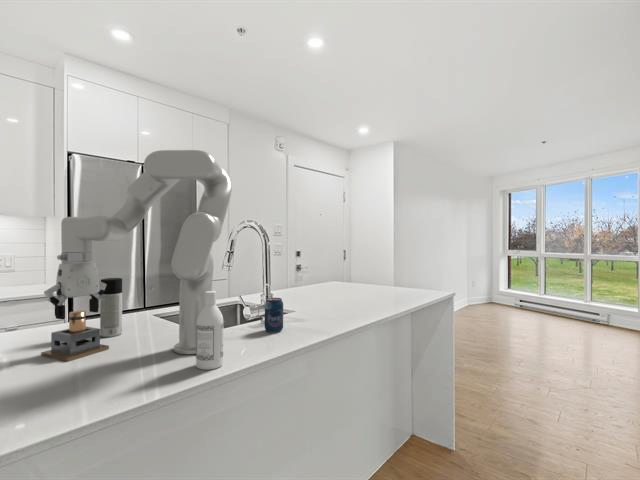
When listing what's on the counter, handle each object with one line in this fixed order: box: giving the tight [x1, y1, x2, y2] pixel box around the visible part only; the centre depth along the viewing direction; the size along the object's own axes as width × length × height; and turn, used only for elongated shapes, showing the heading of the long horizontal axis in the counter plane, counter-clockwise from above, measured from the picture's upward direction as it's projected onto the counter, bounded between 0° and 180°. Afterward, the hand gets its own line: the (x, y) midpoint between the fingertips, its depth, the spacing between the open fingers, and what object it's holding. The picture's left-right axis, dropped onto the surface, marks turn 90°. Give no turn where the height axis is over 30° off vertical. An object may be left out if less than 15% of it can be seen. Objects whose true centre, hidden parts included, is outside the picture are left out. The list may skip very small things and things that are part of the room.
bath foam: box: [195, 290, 224, 371], centre depth 92 cm, size 7×7×20 cm
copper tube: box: [68, 310, 87, 345], centre depth 102 cm, size 4×4×11 cm
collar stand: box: [40, 326, 110, 362], centre depth 102 cm, size 12×12×6 cm
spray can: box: [99, 277, 123, 338], centre depth 121 cm, size 7×7×20 cm
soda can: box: [264, 297, 284, 334], centre depth 128 cm, size 7×7×12 cm
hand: (77, 315), depth 102 cm, fingers open, 9 cm apart
